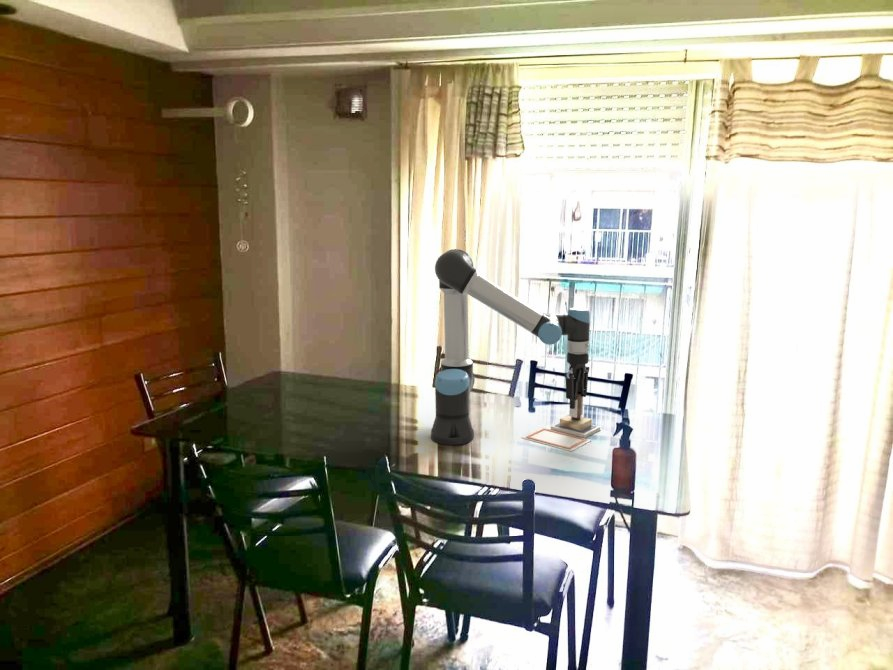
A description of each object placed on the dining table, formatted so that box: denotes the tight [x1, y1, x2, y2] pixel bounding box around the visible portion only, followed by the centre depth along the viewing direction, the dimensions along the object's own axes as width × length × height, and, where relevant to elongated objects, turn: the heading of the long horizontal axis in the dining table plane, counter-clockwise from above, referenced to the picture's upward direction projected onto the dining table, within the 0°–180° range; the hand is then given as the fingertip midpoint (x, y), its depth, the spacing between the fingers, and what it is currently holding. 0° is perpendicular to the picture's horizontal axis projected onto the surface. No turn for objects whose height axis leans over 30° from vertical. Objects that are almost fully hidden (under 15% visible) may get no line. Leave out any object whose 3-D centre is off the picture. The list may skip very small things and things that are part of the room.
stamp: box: [559, 394, 593, 431], centre depth 238 cm, size 9×7×12 cm
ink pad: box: [550, 421, 601, 439], centre depth 239 cm, size 14×11×1 cm
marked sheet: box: [521, 427, 592, 452], centre depth 230 cm, size 20×13×1 cm, turn 49°
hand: (576, 415), depth 238 cm, fingers closed on stamp, 3 cm apart
